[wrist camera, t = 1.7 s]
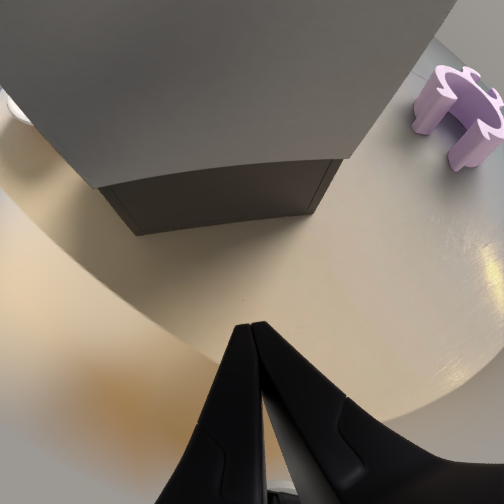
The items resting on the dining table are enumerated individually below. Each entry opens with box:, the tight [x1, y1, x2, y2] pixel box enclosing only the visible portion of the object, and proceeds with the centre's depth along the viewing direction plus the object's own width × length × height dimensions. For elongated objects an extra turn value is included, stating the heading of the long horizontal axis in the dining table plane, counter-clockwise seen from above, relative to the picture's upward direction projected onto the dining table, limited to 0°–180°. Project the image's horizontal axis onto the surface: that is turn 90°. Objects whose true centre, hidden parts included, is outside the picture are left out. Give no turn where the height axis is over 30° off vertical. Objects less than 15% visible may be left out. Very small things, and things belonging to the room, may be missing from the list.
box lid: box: [0, 0, 457, 189], centre depth 8 cm, size 12×15×1 cm
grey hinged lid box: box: [98, 159, 343, 236], centre depth 20 cm, size 12×15×8 cm
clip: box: [411, 65, 504, 172], centre depth 26 cm, size 20×12×7 cm, turn 132°
